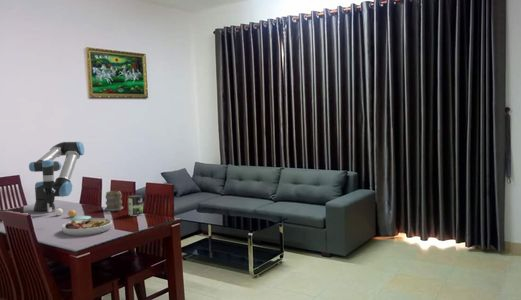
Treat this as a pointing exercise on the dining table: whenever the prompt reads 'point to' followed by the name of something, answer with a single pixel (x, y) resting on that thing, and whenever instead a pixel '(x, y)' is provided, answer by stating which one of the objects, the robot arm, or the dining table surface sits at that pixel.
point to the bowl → (86, 226)
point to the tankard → (113, 201)
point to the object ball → (71, 213)
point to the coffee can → (135, 205)
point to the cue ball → (59, 211)
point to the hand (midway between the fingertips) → (49, 211)
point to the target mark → (80, 217)
